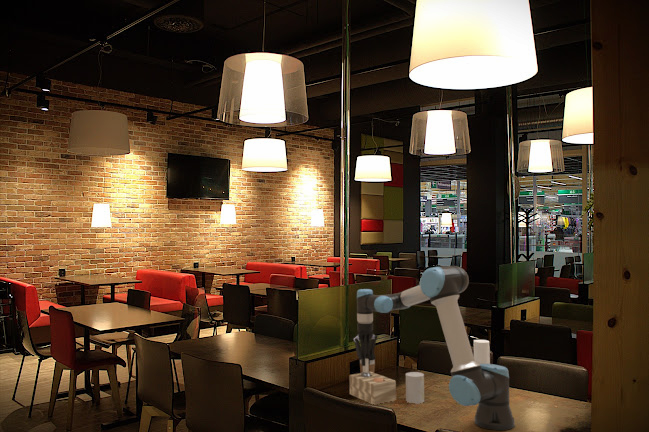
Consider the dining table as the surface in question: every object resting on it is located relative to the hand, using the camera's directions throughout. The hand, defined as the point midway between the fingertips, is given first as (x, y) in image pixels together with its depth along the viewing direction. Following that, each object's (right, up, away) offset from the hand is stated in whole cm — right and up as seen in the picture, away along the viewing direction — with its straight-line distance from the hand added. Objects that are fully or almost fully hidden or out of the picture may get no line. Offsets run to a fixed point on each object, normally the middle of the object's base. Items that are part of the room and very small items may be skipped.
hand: (365, 372), depth 261 cm
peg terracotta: (+5, -10, -9) cm, 14 cm away
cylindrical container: (+54, -10, -3) cm, 55 cm away
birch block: (+3, -10, -5) cm, 12 cm away
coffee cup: (+2, -11, +19) cm, 23 cm away
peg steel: (0, -9, 0) cm, 9 cm away
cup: (+22, -10, -11) cm, 26 cm away
